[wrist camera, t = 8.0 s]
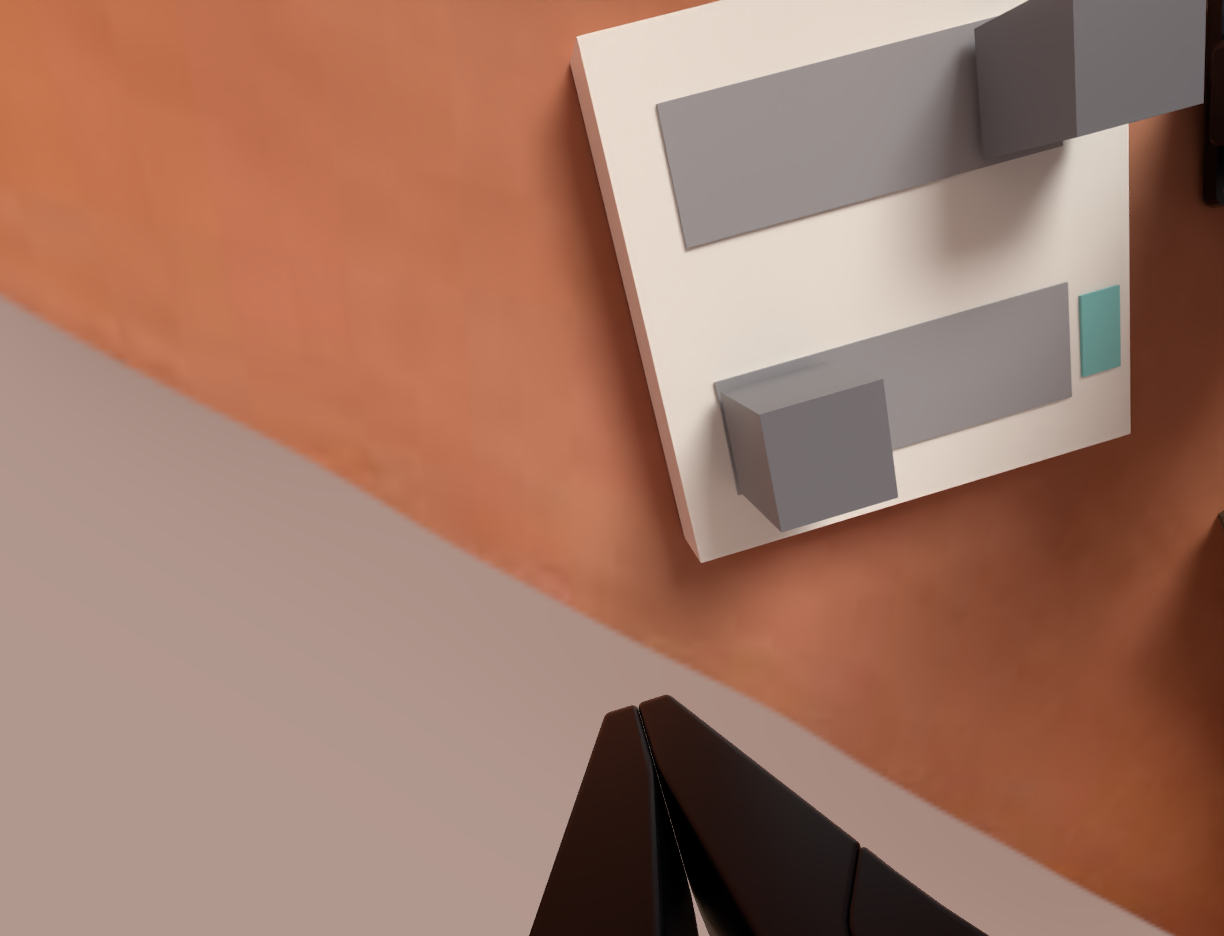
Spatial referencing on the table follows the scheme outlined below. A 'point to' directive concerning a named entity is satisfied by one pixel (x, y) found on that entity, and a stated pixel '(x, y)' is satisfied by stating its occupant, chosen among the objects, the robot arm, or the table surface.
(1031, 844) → the table surface
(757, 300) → the switch panel
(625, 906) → the robot arm
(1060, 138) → the tab
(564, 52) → the table surface
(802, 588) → the table surface
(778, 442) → the tab
